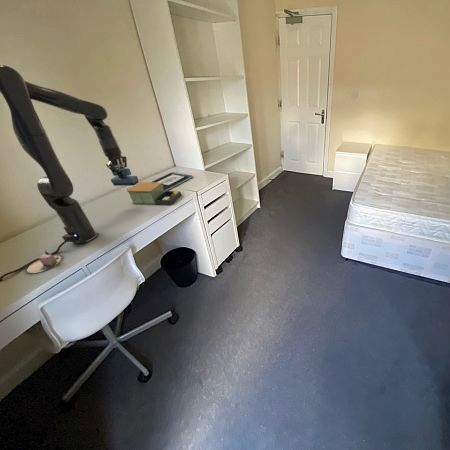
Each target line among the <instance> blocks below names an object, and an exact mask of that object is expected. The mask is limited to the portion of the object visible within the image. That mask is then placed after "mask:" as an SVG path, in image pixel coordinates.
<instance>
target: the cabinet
mask: <svg viewBox="0 0 450 450" xmlns="http://www.w3.org/2000/svg"><path fill="white" fill-rule="evenodd" d="M162 184H163V183H160V182H152V181H146V182H145V181H144V182H143V181H139V183H137V184H136V185H134V186H132V187H130V188H129V189H127V190H126V192H127V193H128V195H129V197H130V199H131V200H132V203H133V204H135V205H156V203H155V201H154V200H155V199H157V198H158V197H159V196H160V195H162V194H163V193H164V192H165V191H164V189H163V186H162Z"/></svg>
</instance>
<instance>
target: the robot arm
mask: <svg viewBox="0 0 450 450" xmlns="http://www.w3.org/2000/svg"><path fill="white" fill-rule="evenodd" d="M0 94H1V95H2V97H3V99H4V100H5V102H6V105H7V106H8V109H9V112H10V119H11V126H12V131H13V133H14V135H15V137H16V139H17V141H18V143H19V145H20V146H21V148H22V150H23V151H25V153H26V154H27V155H28V156H29V157H30V158H31V159H32V160H34V161H35V162H36V164H38V165H39V166H40V167H41V168H42V170H43V172H44V173H45V175H46V176H43V177H41V178H39V179H38V180H37V185H36V186H37V190H38V192H39V194H40V195H41V196H42V199H43V200H44V201H45V202H46V203H47V205H48V206H49V207H50V208H51V209H52V210H54V212H55V213H56V214H57V216H58V217H59V219H60V221H61V223H62V224H63V229H64V231H65V234H64V235H62V236H61V238H62V240H63V242H61V243H60V244H59V245H58V247H57V249H56V250H55V251H53V252H51V253H50V254H52V255H53V256H54V255H56V254H57V253H58V252H59V251H60V249H61V248H62V247H63V246H64V245H65V244H66V243H73V244H84V245H85V244H86V243H88V242H91V241H93V240H95V238H97V236H98V234H97V232H96V230H95V228H94V227H93V225H92V223H91V222H90V220H89V218H88V217H87V215H86V213H85V211H84V210H83V208H82V206H81V204H80V203H79V201H78V200H77V199H75V198H73V197H71V196H72V195H73V193H74V185H73V182H72V181H71V179H70V176H69V175H68V174H67V172H66V170H65V168H64V166H63V165H62V163H61V161H60V160H59V157H58V156H57V153H56V152H55V150H54V147H53V145H52V143H51V140H50V138H49V136H48V133H47V132H46V130H45V128H44V125H43V124H42V122H41V119H40V117H39V116H38V113H37V111H36V108H35V107H34V103H33V101H36V102H40V103H43V104H46V105H48V106H51V107H54V108H57V109H60V110H63V111H66V112H69V113H73V114H77V115H83V116H84V117H85V119H86V121H87V122H88V123H89V125H90V126H91V128H92V130H94V132H95V135H96V137H97V139H98V142H99V145H100V148H101V150H102V152H103V154H104V156H105V157H106V158H107V159H108V163H106V164H105V166H106V167H107V168H108V169H109V170H110V172H111V173H112V172H116V173H117V175H118V177H119V178H124V176H123V174H122V172H121V170H120V169H121V168H127V167H128V163H127V156H126V155H125V156H123V155H122V150H121V147H120V145H119V143H118V140H117V139H116V137H115V135H114V133H113V130H112V128H111V126H110V125H108V124H107V123H106V122H104V121H105V120H106V119H108V116H109V115H108V114H109V113H108V111H107V109H106V108H105V107H104V106H102V105H100V104H98V103H94V102H91V101H88V100H84V99H81V98H78V97H76V96H73V95H71V94H68V93H65V92H62V91H59V90H56V89H52V88H48V87H45V86H40V85H37V84H35V83H32V82H29V81H26V80H25V79H24V77H23V76H22V74H20V72H19V71H17V69H15V68H13V67H11V66H8V65H4V64H0ZM32 100H33V101H32ZM117 169H118V170H117ZM38 258H39V257H37V258H36V259H33V260H31V261H29V262H27V263H26V264H24V265H23V266H21V267H18V268H17V269H14V270H12V271H11V270H10V271H8V272H5V273H3V274H2V275H1V276H0V282H1V281H2V280H3V278H5V277H6V276H9V275H11V274H14V273H17V272H19V271H21V270H23V269H25V268H28V267H29V266H30V265H31V264H33V263H34V262H36V261H38V260H39V259H38ZM31 329H32V330H36V327H35V325H33V327H31Z"/></svg>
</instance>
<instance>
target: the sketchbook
mask: <svg viewBox="0 0 450 450" xmlns="http://www.w3.org/2000/svg"><path fill="white" fill-rule="evenodd" d="M193 177H194V176H193V175H191V174H188V173H181V172H176V171H171V172H168V173H167V174H165V175H163V176H161V177H158V178H156V179H154V180H152V181H151V182H160V183H163V184H162V186H163V189H164V191H171V189H173V188H176V187H177V186H179V185H181V184H183V183H185V182H187V181H189V180H190V179H192V178H193Z"/></svg>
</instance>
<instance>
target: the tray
mask: <svg viewBox="0 0 450 450" xmlns="http://www.w3.org/2000/svg"><path fill="white" fill-rule="evenodd" d="M174 191H175V190H168V191H165V192H164V193H163V194H162V195H160V196H159V197H158V198H157V199H155V200H154V201H155V203H156V204H155V205H156V206H157V205H158V206H159V205H160V206H172V205H173V204H174V203H175V202H176V201H177V200H179V199H180V198H181V197H182V193H181V191H180V190H177V191H178V193H177V194H176V195H175V196H174V197H171V195H172V193H173V192H174ZM164 197H170V198H171V199H170V200H162V199H163V198H164Z"/></svg>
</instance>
